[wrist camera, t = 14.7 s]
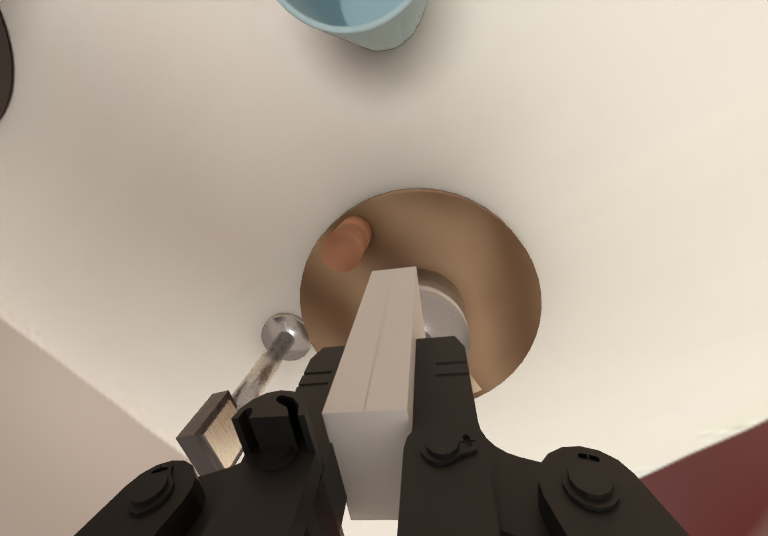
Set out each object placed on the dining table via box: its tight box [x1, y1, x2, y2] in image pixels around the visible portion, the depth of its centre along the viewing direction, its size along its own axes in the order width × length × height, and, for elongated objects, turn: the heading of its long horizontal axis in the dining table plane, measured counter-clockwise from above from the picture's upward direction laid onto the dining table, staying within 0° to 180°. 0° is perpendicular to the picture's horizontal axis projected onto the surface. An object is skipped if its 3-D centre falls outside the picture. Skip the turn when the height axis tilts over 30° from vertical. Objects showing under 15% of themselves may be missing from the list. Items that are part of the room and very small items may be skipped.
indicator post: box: [176, 314, 312, 476], centre depth 27 cm, size 4×4×13 cm
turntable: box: [300, 189, 541, 398], centre depth 26 cm, size 18×18×6 cm
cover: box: [417, 269, 470, 359], centre depth 25 cm, size 7×7×6 cm
